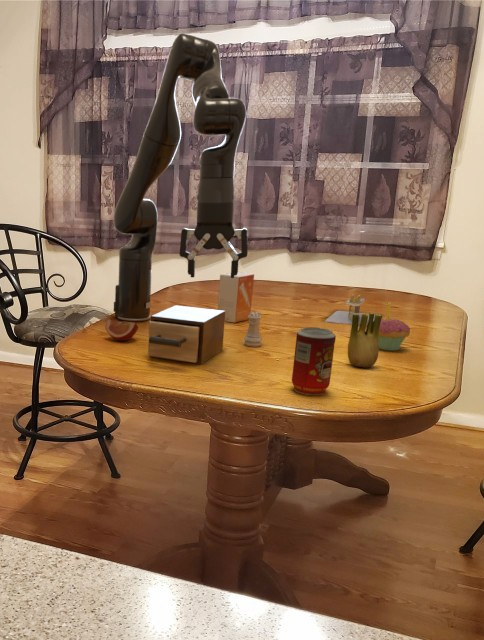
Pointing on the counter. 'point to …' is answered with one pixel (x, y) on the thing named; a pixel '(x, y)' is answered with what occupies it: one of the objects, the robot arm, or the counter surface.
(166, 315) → the cabinet
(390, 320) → the cupcake
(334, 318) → the platform
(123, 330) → the fruit slice
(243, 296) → the small box
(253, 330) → the rook chess piece
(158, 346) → the drawer
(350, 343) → the fennel bulb
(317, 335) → the red food can
